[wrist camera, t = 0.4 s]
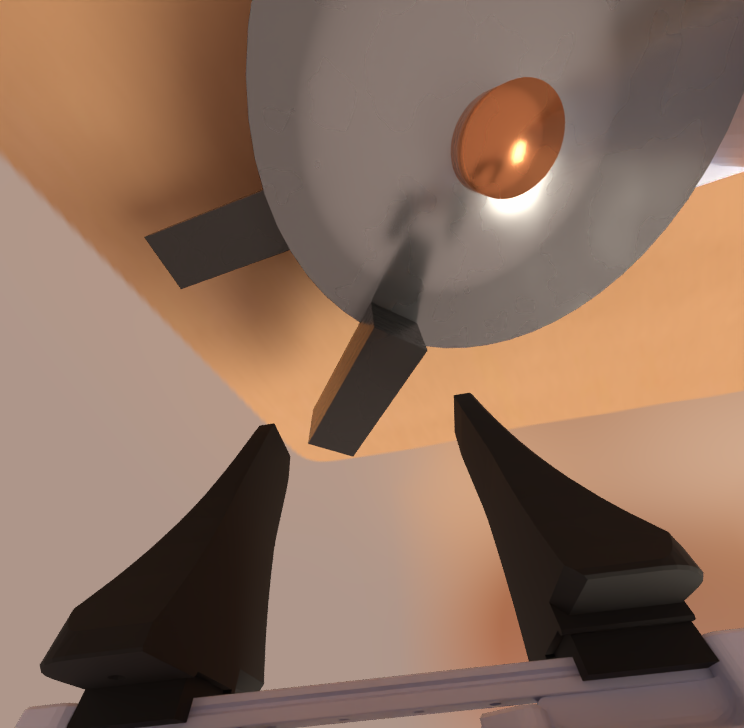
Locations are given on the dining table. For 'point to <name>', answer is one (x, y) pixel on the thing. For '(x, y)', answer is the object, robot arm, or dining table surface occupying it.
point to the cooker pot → (219, 240)
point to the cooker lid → (476, 161)
